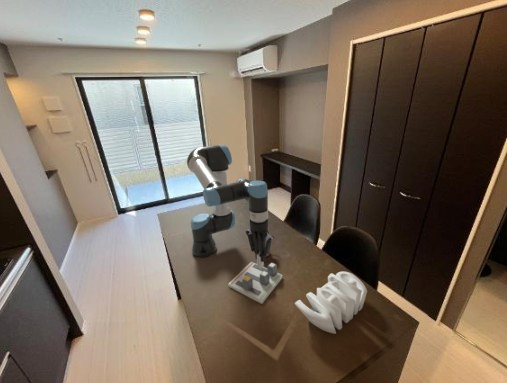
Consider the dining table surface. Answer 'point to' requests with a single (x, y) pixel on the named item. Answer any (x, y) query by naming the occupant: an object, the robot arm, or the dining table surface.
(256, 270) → the panel
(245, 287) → the block
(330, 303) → the wavy white extrusion
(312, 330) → the dining table surface
